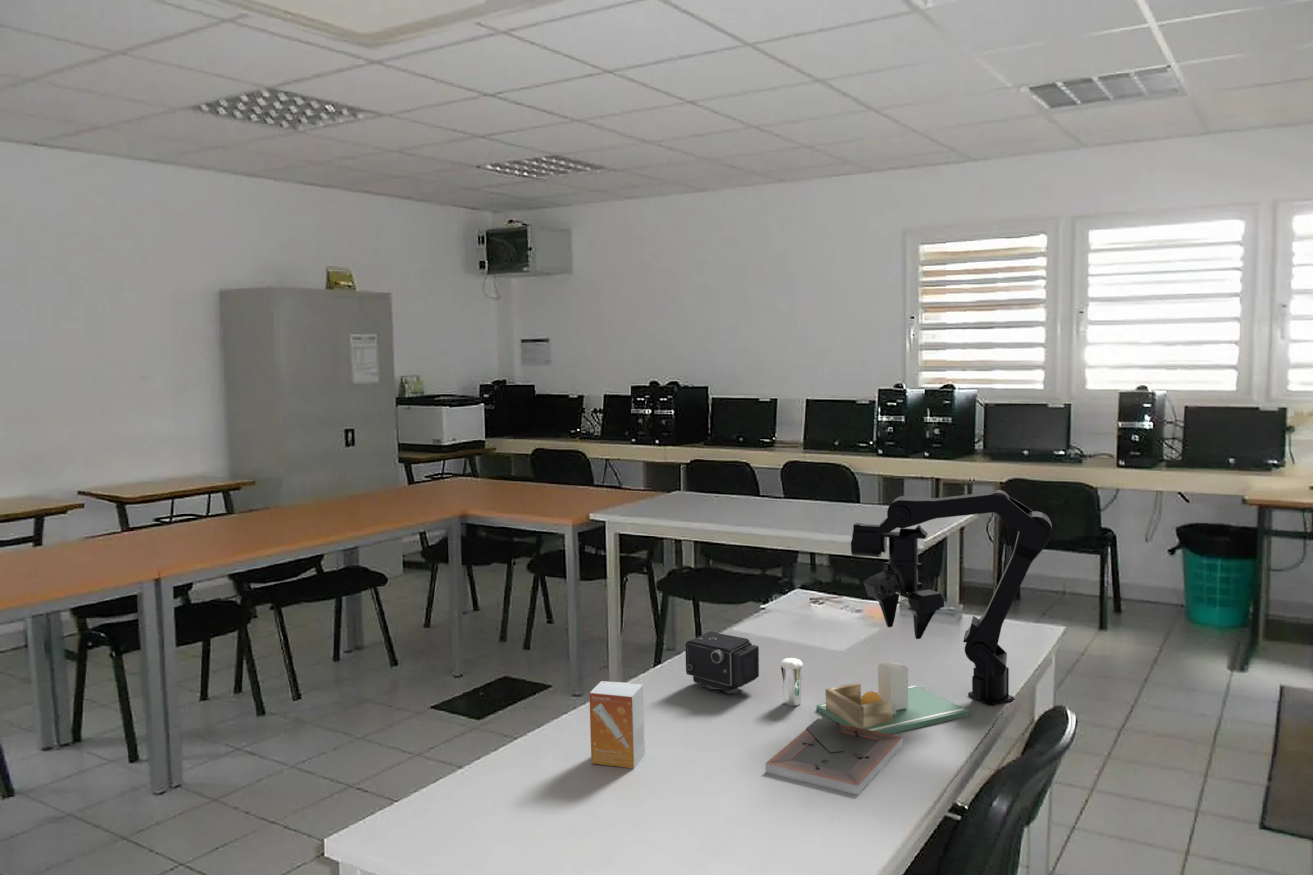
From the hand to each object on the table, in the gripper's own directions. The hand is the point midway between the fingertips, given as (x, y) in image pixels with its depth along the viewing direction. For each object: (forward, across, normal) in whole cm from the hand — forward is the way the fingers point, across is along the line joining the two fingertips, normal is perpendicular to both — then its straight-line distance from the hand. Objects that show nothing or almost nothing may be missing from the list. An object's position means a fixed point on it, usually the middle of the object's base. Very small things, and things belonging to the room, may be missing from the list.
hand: (903, 632), depth 195 cm
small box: (+12, +4, -65) cm, 66 cm away
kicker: (+11, +9, -10) cm, 17 cm away
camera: (+12, -18, -33) cm, 40 cm away
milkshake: (+12, -4, -24) cm, 27 cm away
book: (+13, +21, -31) cm, 40 cm away
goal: (+11, +9, -18) cm, 23 cm away
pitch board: (+12, +9, -10) cm, 18 cm away
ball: (+9, +9, -15) cm, 19 cm away
